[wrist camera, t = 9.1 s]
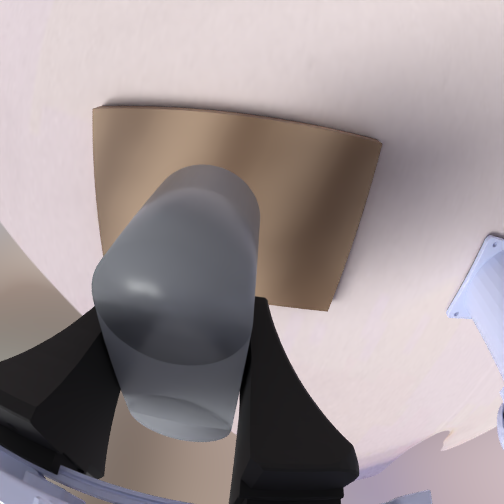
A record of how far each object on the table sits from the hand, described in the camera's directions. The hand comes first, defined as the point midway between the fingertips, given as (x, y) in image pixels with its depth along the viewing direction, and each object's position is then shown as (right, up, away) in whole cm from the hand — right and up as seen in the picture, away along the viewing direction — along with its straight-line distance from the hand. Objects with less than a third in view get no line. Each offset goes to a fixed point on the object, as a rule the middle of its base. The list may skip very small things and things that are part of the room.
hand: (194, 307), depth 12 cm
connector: (0, 0, +2) cm, 2 cm away
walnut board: (0, +5, +7) cm, 8 cm away
